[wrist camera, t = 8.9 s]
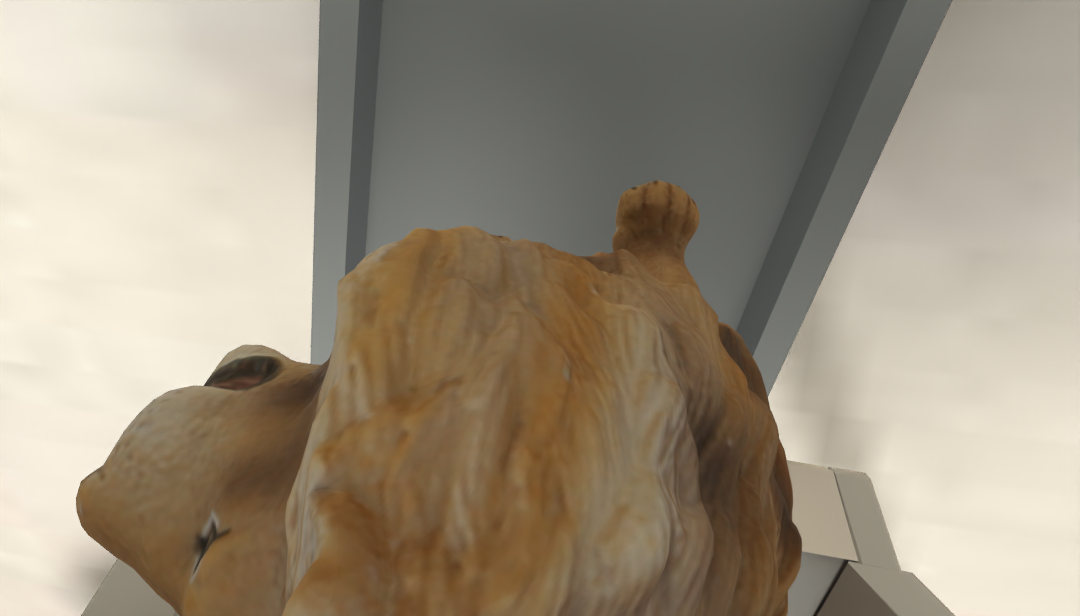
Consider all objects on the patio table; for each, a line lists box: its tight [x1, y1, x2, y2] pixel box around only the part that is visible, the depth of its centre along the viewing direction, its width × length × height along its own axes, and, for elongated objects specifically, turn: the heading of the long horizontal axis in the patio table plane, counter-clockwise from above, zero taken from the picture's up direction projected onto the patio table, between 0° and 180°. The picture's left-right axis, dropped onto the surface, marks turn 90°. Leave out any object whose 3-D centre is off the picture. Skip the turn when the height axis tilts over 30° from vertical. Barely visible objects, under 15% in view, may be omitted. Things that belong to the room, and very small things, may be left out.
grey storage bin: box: [311, 0, 952, 397], centre depth 21 cm, size 12×16×7 cm
